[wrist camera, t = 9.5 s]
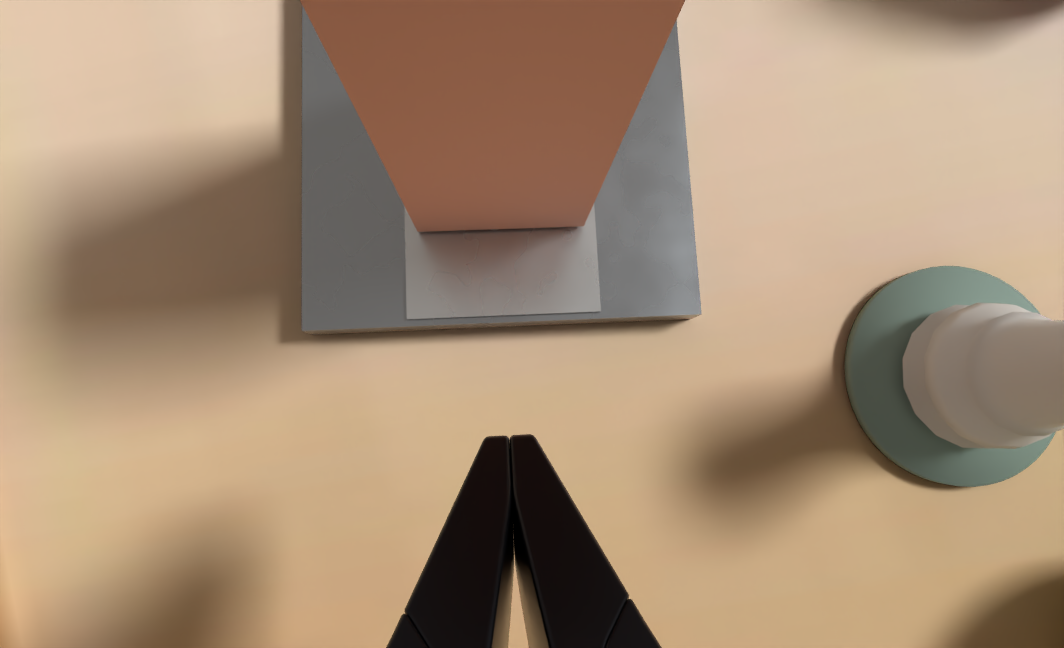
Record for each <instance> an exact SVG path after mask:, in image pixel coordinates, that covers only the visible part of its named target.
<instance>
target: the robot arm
mask: <svg viewBox="0 0 1064 648" xmlns="http://www.w3.org/2000/svg"><path fill="white" fill-rule="evenodd" d="M513 535H514V539H513ZM514 554H515V565H516V572H517V579H518V585H519V591H520V597H521V603H522V609H523V615H524V621H525V627H526V633H527V639H528V645H529V648H661V646H660V644H659V643H658V641H657V640H656V638H655V637H654V635H653V633H652V632H651V630H650V629H649V627H648V626H647V624H646V622H645V621H644V619H643V617H642V616H641V614H640V612H639V611H638V609H637V607H636V606H635V604H634V602H633V601H632V600H631V599H628V598H629V594H628V593H627V591H626V589H625V588H624V586H623V584H622V583H621V581H620V579H619V578H618V576H617V574H616V572H615V571H614V569H613V567H612V566H611V564H610V562H609V561H608V559H607V557H606V556H605V554H604V552H603V551H602V549H601V547H600V545H599V544H598V542H597V540H596V539H595V537H594V535H593V534H592V532H591V530H590V529H589V527H588V525H587V524H586V522H585V520H584V519H583V517H582V515H581V513H580V512H579V510H578V508H577V507H576V505H575V503H574V502H573V500H572V498H571V497H570V495H569V493H568V492H567V490H566V488H565V487H564V485H563V483H562V481H561V480H560V478H559V476H558V475H557V473H556V471H555V470H554V468H553V466H552V465H551V463H550V461H549V460H548V458H547V456H546V454H545V453H544V451H543V449H542V448H541V446H540V444H539V443H538V441H537V439H536V438H535V437H534V436H533V435H530V434H527V435H513V436H511V437H510V443H509V438H508V437H507V436H489V437H486V438H485V439H484V440H483V442H482V444H481V446H480V449H479V451H478V453H477V455H476V457H475V459H474V461H473V464H472V466H471V468H470V470H469V472H468V474H467V477H466V479H465V481H464V483H463V485H462V487H461V489H460V492H459V494H458V496H457V498H456V500H455V502H454V504H453V507H452V509H451V511H450V513H449V515H448V517H447V520H446V522H445V524H444V526H443V528H442V530H441V532H440V535H439V537H438V539H437V541H436V543H435V545H434V547H433V550H432V552H431V554H430V556H429V558H428V560H427V563H426V565H425V567H424V569H423V571H422V573H421V575H420V578H419V580H418V582H417V584H416V586H415V588H414V590H413V593H412V595H411V597H410V599H409V601H408V603H407V606H406V608H405V614H402V616H401V618H400V620H399V622H398V624H397V626H396V629H395V631H394V633H393V635H392V637H391V639H390V641H389V643H388V645H387V647H386V648H508V640H509V627H510V614H511V601H512V588H513V574H514Z"/></svg>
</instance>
